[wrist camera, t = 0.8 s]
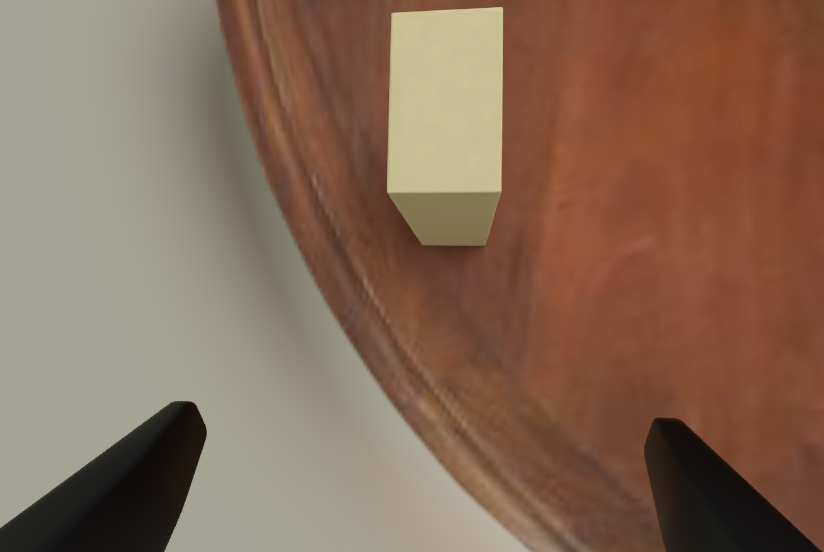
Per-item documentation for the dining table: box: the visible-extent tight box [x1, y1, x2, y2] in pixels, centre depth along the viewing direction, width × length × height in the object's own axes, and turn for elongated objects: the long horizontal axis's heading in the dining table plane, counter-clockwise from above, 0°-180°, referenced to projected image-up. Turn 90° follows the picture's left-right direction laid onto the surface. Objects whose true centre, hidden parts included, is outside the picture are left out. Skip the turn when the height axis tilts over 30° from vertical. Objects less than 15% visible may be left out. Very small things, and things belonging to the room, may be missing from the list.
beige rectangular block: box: [387, 7, 503, 246], centre depth 17 cm, size 5×3×10 cm, turn 179°
